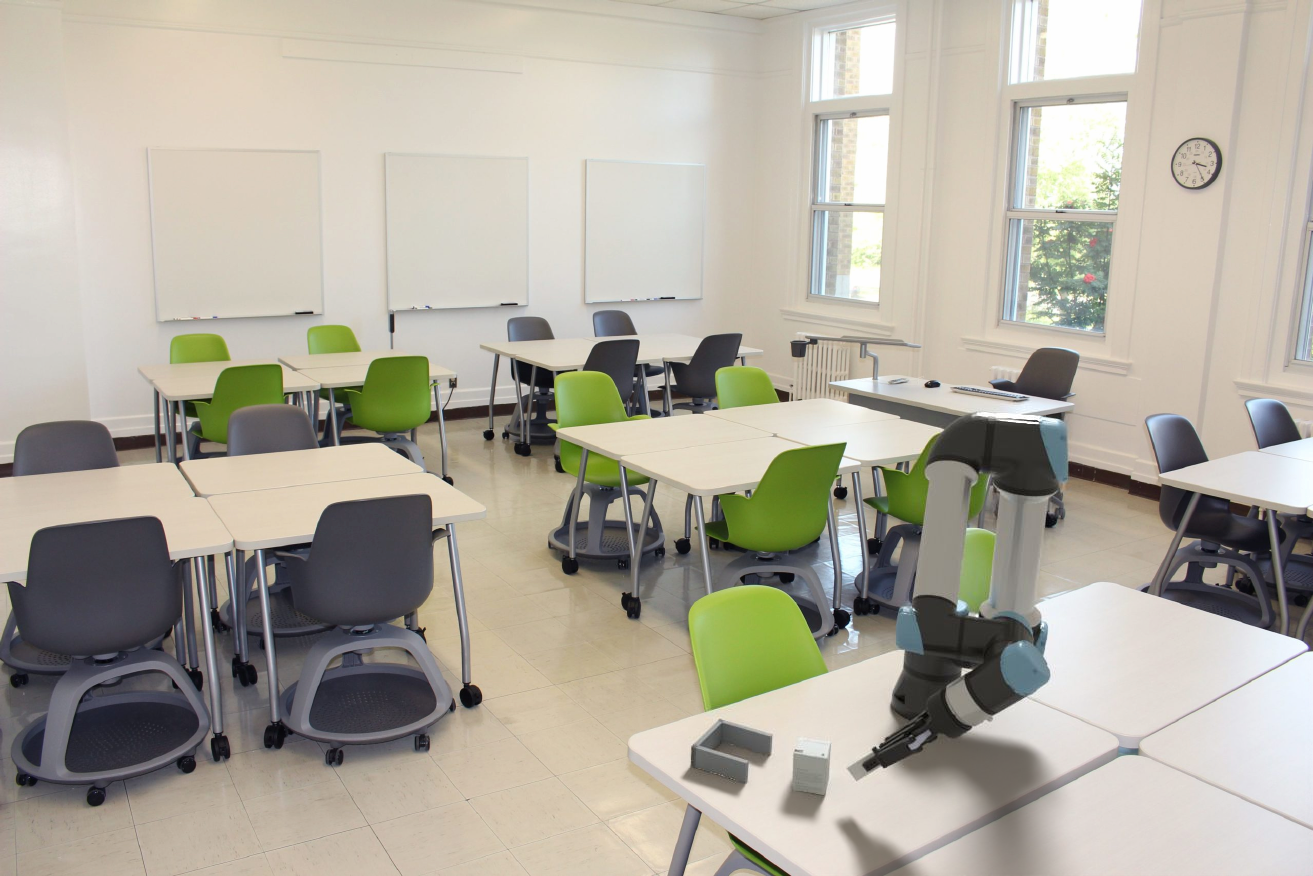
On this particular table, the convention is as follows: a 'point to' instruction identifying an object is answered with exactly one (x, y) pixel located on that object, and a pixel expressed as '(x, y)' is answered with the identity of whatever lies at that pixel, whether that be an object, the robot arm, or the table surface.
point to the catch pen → (723, 762)
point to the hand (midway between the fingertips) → (852, 772)
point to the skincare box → (811, 766)
